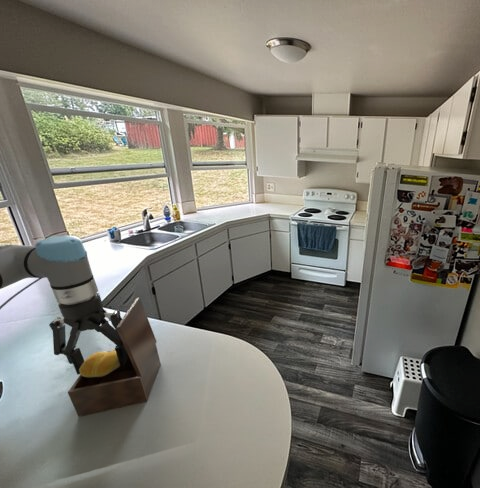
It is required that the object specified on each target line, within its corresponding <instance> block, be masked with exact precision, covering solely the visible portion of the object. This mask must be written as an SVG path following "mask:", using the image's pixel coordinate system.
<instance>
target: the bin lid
mask: <svg viewBox="0 0 480 488" xmlns="http://www.w3.org/2000/svg"><path fill="white" fill-rule="evenodd" d="M121 318H122V320H121V321H120V323H119V324H118V326H117V327H116V329H117V331H118V333H119V336H120V338H121V340H122V342H123V344H124V347H125V349H126V351H127V353H128V356H129V358H130V360H131V362H132V365H133V367H134V369H135V371H136V373H137V376H138V377H141V376H142V374H143V372H144V369H145V367H146V365H147V362H148V360H149V358H150V356H151V353H152V351H153V349H154V346H155V344H156V345H157V342H158V341H157V339H156V336H155V333H154V330H153V329H152V325H151V323H150V321H149V318H148V315H147V313H146V310H145V307H144V305H143V302H142V299H141V298H140V297H136V298H135V300H134V301H133V303H132V304H131V305H130V307H129V308H128V309H127V311H126V313H125V314H124V316H123V317H121Z"/></svg>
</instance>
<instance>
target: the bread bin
mask: <svg viewBox="0 0 480 488" xmlns="http://www.w3.org/2000/svg"><path fill="white" fill-rule="evenodd" d="M110 351H115V349H111V350H106V351H104V352H110ZM126 355H127V358H128V360H127V361H126V363H125V365H124V366H122V367H121V366H119V367H118V368H117V369H115V370H114V371H112V372H111V373H109V374H107V375H105V376H102V377H84V376H82V375H81V374H79V376H78V378H76V380H75V381H74V383H73V384H72V385H71V387H70V389H69V390H68V391H67V394H68V396H69V399H70V400H71V404H72V406H73V408H74V410H75V412H76V415H77V417H78V418H79V417H84V416H88V415H93V414H96V413H97V414H98V413H101V412H106V411H111V410H116V409H119V408H123V407H128V406H134V405H138V404H142V403H146V402H148V400H149V398H150V395H151V392H152V390H153V387H154V384H155V381H156V380H157V376H158V373H159V371H160V368H161V365H162V363H161V360H160V355H159V352H158V348H157V343H156V344H155V346H154V349H153V351H152V353H151V356H150V358H149V360H148V362H147V365H146V367H145V369H144V372H143V374H142V376H141V377H138V376H137V373H136V371H135V369H134V367H133V365H132V362H131V360H130V358H129V356H128V353H127V354H126Z"/></svg>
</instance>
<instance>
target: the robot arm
mask: <svg viewBox="0 0 480 488" xmlns="http://www.w3.org/2000/svg"><path fill="white" fill-rule="evenodd" d="M45 278H46V279H47V281H48V282H49V286H50V288H51V290H52V293H53V295H54V298H55V300H56V302H57V304H58V308H59V312H60V314H61V316H62V317H60V316H57V317H55V318H54V319H53V320H52V321H51V322H50V323H48V325H49V326H48V327H49V328H50V329H51V330H52V343H53V344H52V345H53V355H55V356H59V355H64V356H65V357H66V359H67V362H68V364H70V365H73V367H74V370H75V372H76V374H77V375H79V376H80V375H81V374H80V372H79V369H80V367H81V365H82V364H83V363H84V361H85V359H84V357H83V354H82V351H81V348H80V347H77V344H78V341H79V339H80V336H81V332H85V331H92V330H94V331H96V332H97V333H101V334H102V335H103V336H104V337H105V338H107V339H108V340H109V341H110V342H112V343H113V344H115V345H116V346H115V347H114V350H115V351H116V354H117V357H118V360H119V363H120V366H121V367H122V366H124V365H125V363H126V361H127V360H128V358H127V355H126V354H127V351H126V349H125V347H124V344H123V342H122V340H121V338H120V336H119V333H118V331H117V329H116V327H117V326H118V324H119V323H120V321H121V320H122V318H123V317H121V312H120V309H114V311H107V310H105V308H104V307H103V301H102V298H101V295H100V293H99V289H98V285H97V283H96V280H95V276H94V274H93V271H92V268H91V265H90V261H89V257H88V251H87V250H86V249H85V246H84V244H83V242H82V240H81V238H80V237H78V236H75V235H57V236H51V237H46V238H43V239H40V240H39V241H37V242H36V243H35V244H34V245H26V244H25V245H24V244H23V245H21V244H3V245H0V290H2V289H4V288H6V287H8V286H11V285H14V284H16V283H19V282H20V281H22V280H26V279H35V280H33V281H32V282H30V283H29V284H28V285H26V286H24V287H23V288H21V289H20V290H19V291H17V292H16V293H14V295H12V296H11V297H9V298H8V299H7V300H6V301H4V302H3V303H2V304H1V305H0V310H1V309H2V308H4V307H5V306H6V305H7V304H8V303H9V302H11V301H12V300H13V299H14V298H16V297H17V296H18V295H19V294H21V293H23V291H25V290H27V289H28V288H29V287H31V286H32V285H34V284H36V283H38V282H39V281H40V280H42V279H45ZM106 318H107V319H106ZM109 322H110V323H111V324H110V323H109ZM66 325H67V326H69V327H70V328H71V330H70V333H69V337H68V340H67V339H66V337H67V335H66ZM76 347H77V348H76Z"/></svg>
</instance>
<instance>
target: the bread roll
mask: <svg viewBox="0 0 480 488" xmlns="http://www.w3.org/2000/svg"><path fill="white" fill-rule="evenodd" d="M109 351H110V352H105V351H98V352H95V353H92V354H91V355H89V356H88V357H87V358H86V359H84V363H83V364H82V365H81V367H80V369H79V372H80V374H79V375H82V376H84V377H102V376H105V375H107V374H109V373H111V372H112V371H114V370H115V369H117V368H118V367H119V366H120V363H119V360H118V357H117V354H116V351H111V350H109Z"/></svg>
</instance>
